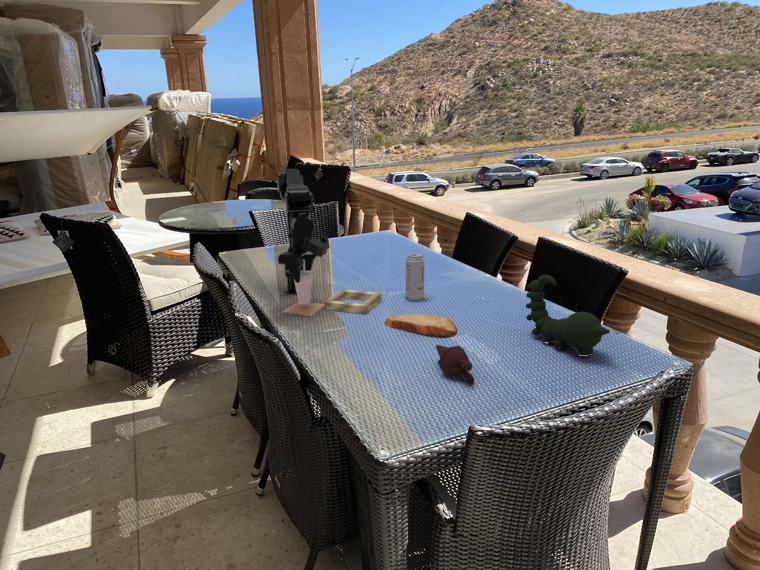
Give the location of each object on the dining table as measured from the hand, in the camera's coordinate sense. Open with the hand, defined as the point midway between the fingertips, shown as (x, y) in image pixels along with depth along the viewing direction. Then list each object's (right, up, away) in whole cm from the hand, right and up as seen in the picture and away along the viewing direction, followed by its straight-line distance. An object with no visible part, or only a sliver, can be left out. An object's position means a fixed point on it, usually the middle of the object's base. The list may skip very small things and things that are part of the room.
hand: (302, 279), depth 164 cm
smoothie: (0, -7, +2) cm, 8 cm away
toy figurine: (+72, -18, -26) cm, 78 cm away
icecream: (+41, -23, -39) cm, 61 cm away
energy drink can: (+35, -6, +12) cm, 38 cm away
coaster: (0, -9, +3) cm, 10 cm away
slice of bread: (+36, -15, -12) cm, 40 cm away
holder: (+15, -8, +7) cm, 19 cm away
